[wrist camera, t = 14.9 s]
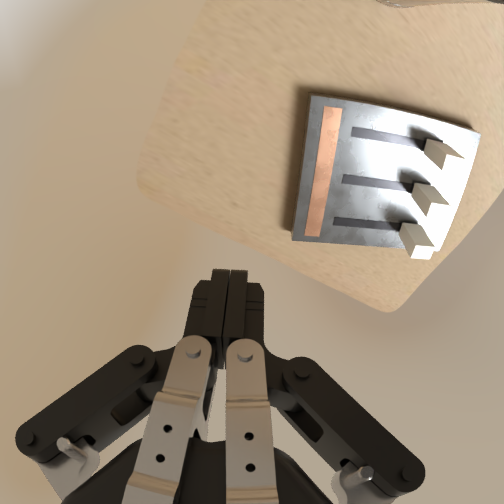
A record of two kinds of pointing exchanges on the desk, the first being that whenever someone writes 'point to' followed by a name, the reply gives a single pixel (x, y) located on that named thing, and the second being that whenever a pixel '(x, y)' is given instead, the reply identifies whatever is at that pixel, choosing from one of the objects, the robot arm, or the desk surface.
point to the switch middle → (430, 201)
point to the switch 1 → (416, 241)
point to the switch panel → (372, 172)
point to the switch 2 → (445, 157)
